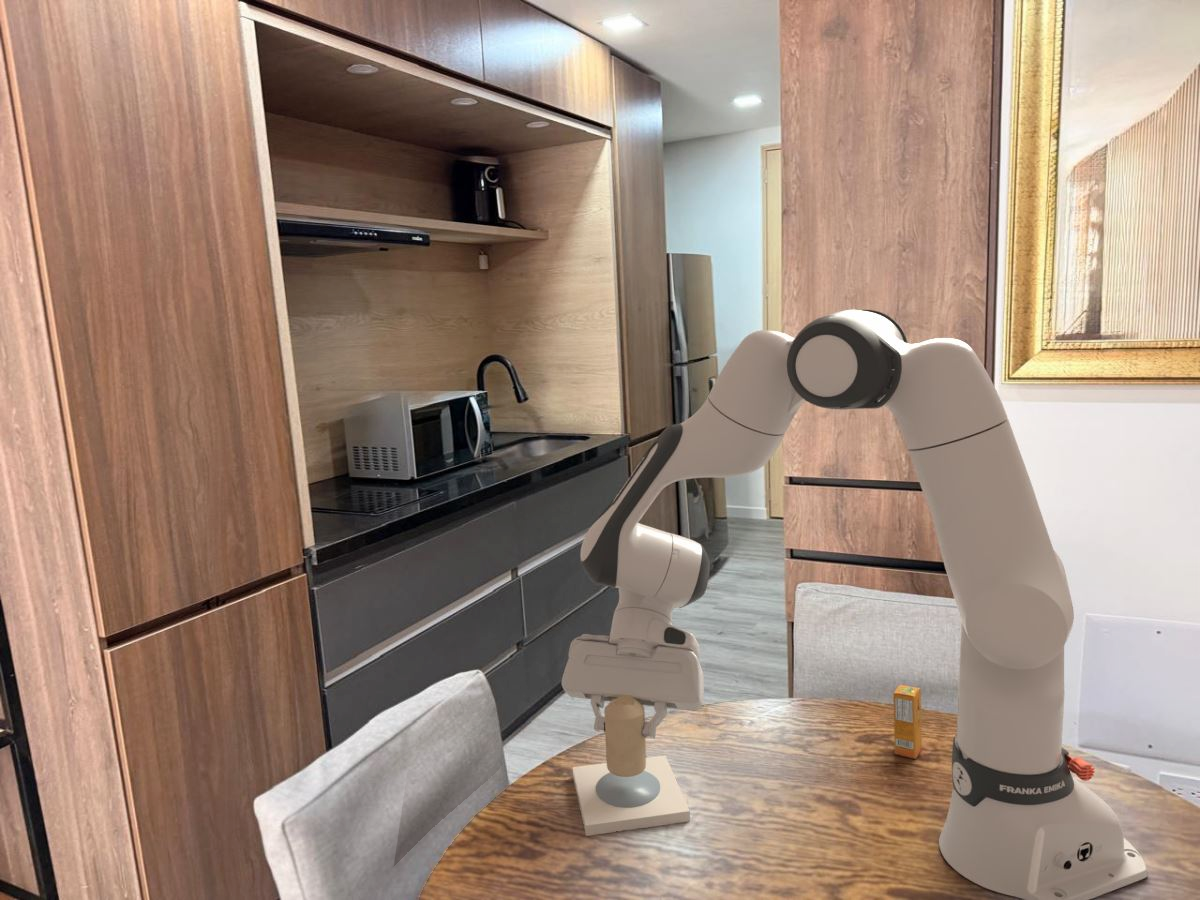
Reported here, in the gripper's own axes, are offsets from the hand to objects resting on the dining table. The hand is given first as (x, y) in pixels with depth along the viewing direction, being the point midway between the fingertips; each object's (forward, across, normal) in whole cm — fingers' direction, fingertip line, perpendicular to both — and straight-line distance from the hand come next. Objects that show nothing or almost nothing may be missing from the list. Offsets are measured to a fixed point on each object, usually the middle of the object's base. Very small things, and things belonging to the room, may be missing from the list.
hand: (624, 734), depth 111 cm
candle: (+3, 0, +4) cm, 5 cm away
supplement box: (-8, +38, +22) cm, 45 cm away
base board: (+7, 0, +8) cm, 10 cm away
